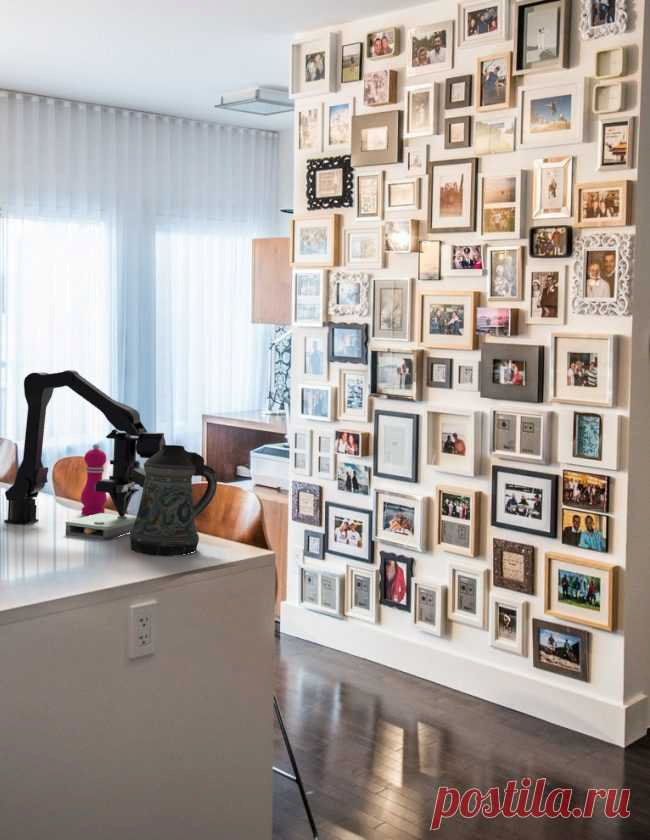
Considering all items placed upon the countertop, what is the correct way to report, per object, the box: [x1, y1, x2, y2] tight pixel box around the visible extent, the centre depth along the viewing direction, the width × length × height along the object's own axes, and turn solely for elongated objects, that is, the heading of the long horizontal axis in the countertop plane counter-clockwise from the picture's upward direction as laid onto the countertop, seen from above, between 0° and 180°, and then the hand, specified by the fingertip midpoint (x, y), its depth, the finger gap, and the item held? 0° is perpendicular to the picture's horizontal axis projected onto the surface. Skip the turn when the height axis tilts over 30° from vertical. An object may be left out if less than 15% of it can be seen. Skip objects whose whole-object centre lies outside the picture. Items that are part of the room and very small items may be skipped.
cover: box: [65, 512, 137, 530], centre depth 259 cm, size 12×16×1 cm
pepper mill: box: [80, 443, 108, 516], centre depth 285 cm, size 7×7×20 cm
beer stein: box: [129, 444, 218, 557], centre depth 243 cm, size 16×19×25 cm
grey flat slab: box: [65, 523, 134, 541], centre depth 259 cm, size 12×16×2 cm
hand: (122, 516), depth 264 cm, fingers closed
